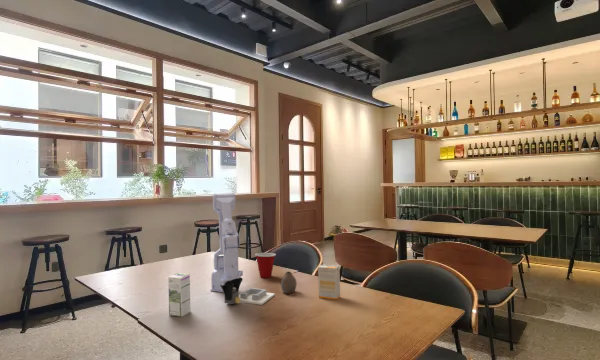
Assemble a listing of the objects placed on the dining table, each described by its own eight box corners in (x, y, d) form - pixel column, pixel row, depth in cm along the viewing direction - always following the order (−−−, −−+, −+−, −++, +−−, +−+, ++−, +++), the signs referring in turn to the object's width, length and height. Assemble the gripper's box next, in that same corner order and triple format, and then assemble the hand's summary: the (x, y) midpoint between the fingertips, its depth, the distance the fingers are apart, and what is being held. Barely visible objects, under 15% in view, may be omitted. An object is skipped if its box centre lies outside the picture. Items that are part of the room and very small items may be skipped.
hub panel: (231, 300, 139) (231, 294, 139) (246, 292, 150) (246, 285, 150) (261, 304, 134) (261, 297, 134) (274, 295, 145) (274, 288, 145)
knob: (224, 302, 134) (224, 288, 134) (230, 299, 138) (229, 285, 138) (236, 304, 132) (236, 290, 132) (242, 301, 136) (241, 287, 136)
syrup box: (191, 311, 128) (190, 273, 128) (181, 317, 122) (180, 277, 122) (178, 310, 130) (178, 272, 130) (168, 315, 124) (167, 276, 124)
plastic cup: (280, 275, 176) (280, 252, 176) (267, 280, 167) (267, 256, 167) (264, 272, 182) (263, 250, 182) (251, 277, 173) (250, 254, 173)
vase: (294, 294, 145) (294, 274, 145) (279, 294, 146) (278, 274, 146) (298, 289, 152) (297, 270, 152) (283, 289, 153) (282, 269, 153)
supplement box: (340, 296, 142) (340, 265, 142) (337, 300, 137) (336, 268, 137) (322, 294, 145) (321, 263, 145) (318, 297, 141) (317, 266, 141)
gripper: (229, 269, 127) (230, 305, 127) (248, 260, 141) (249, 293, 141) (213, 268, 130) (214, 303, 130) (234, 259, 143) (234, 291, 143)
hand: (231, 298), depth 135 cm, fingers closed on knob, 4 cm apart
